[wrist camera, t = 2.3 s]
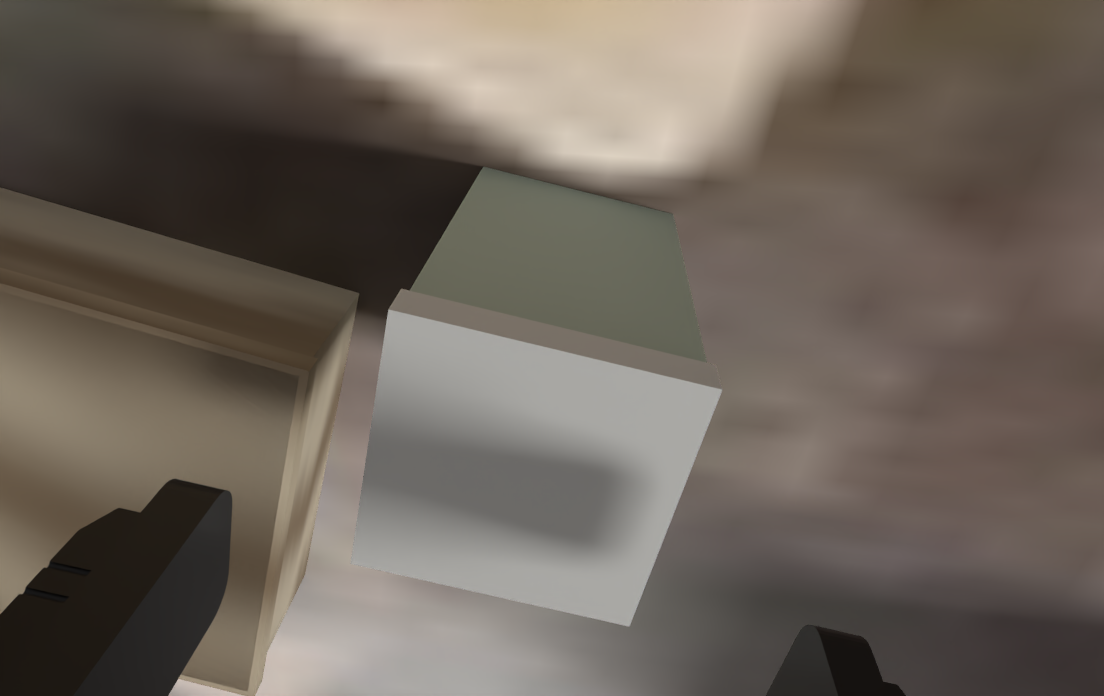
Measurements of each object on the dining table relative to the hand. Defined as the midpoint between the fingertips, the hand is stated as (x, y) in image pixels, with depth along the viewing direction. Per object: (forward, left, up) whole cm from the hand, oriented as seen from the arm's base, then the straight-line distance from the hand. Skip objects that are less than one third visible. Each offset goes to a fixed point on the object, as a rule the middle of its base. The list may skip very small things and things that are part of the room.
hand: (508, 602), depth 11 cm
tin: (0, 0, -12) cm, 12 cm away
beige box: (+7, -11, -12) cm, 18 cm away
